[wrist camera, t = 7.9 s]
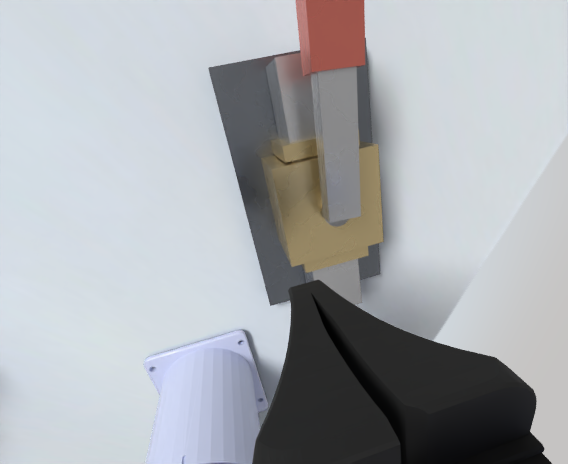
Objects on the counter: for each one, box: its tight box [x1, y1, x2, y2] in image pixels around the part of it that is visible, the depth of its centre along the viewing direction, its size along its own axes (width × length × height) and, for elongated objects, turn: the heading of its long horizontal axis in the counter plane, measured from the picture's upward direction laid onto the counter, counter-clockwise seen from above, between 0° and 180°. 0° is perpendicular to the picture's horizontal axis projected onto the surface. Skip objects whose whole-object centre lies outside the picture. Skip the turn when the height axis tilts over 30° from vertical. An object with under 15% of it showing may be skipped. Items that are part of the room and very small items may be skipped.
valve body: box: [209, 38, 383, 306], centre depth 18 cm, size 16×9×5 cm, turn 11°
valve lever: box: [296, 0, 365, 227], centre depth 13 cm, size 11×2×2 cm, turn 8°
